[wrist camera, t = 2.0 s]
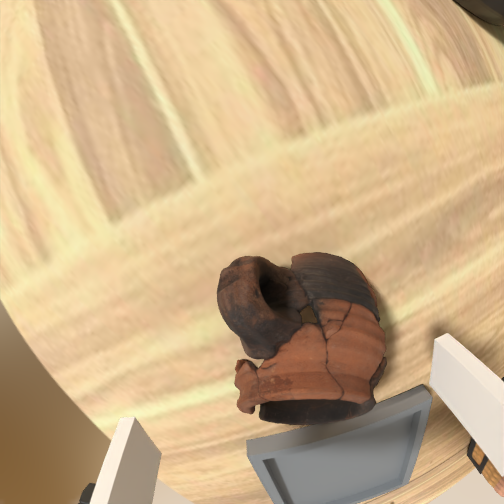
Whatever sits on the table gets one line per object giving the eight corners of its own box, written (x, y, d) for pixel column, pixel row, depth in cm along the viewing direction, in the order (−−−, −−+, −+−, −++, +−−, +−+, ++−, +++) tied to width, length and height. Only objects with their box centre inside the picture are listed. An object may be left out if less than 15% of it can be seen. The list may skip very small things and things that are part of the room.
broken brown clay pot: (394, 296, 19) (414, 408, 13) (289, 338, 24) (284, 433, 18) (296, 171, 13) (299, 334, 7) (172, 257, 18) (131, 380, 12)
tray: (422, 384, 21) (432, 397, 19) (403, 473, 26) (408, 483, 24) (246, 438, 21) (247, 456, 19) (283, 509, 26) (284, 521, 24)
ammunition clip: (475, 448, 27) (507, 494, 16) (466, 455, 27) (497, 502, 16) (485, 417, 24) (528, 470, 13) (475, 424, 24) (517, 480, 13)
